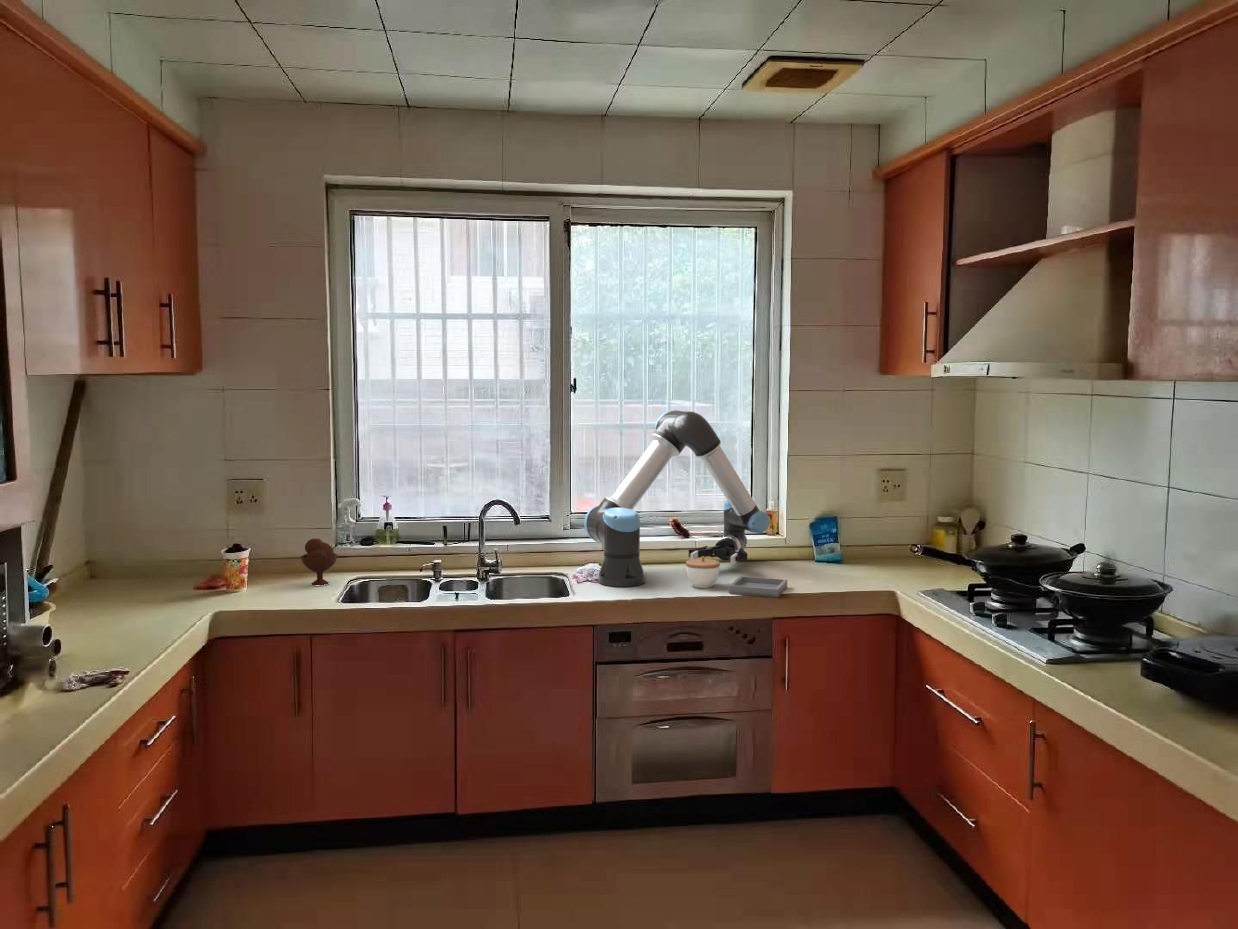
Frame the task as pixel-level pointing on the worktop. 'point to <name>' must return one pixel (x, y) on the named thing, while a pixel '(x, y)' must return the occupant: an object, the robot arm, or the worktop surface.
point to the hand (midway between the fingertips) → (711, 559)
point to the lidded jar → (702, 572)
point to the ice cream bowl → (318, 558)
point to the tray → (758, 586)
